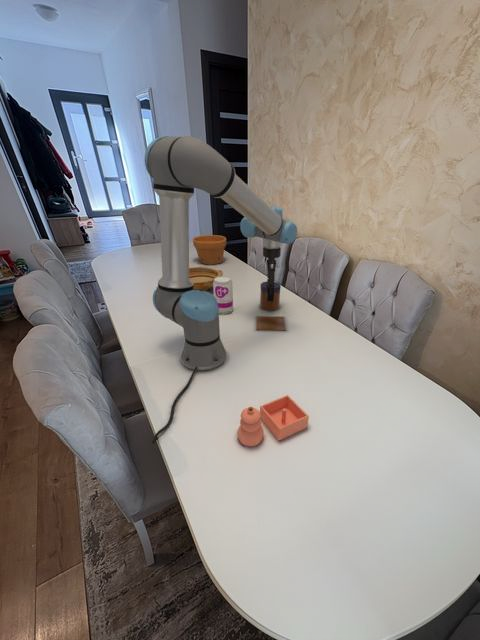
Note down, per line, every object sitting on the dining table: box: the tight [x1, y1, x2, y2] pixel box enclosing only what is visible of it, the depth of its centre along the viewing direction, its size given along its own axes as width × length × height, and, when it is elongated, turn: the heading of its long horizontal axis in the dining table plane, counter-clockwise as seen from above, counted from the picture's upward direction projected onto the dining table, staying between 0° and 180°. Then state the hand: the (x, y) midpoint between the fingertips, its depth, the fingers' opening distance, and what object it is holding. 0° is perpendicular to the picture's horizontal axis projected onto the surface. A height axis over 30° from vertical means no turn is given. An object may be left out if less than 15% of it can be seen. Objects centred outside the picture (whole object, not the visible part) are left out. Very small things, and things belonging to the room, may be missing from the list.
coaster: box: [256, 315, 287, 332], centre depth 130 cm, size 12×12×1 cm
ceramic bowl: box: [189, 266, 224, 292], centre depth 160 cm, size 30×24×8 cm
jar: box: [259, 289, 281, 312], centre depth 142 cm, size 9×9×10 cm
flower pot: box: [192, 234, 227, 265], centre depth 198 cm, size 21×21×15 cm
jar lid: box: [260, 281, 281, 292], centre depth 139 cm, size 9×9×2 cm
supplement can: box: [212, 275, 234, 315], centre depth 136 cm, size 8×8×15 cm
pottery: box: [237, 394, 310, 448], centre depth 78 cm, size 18×10×10 cm, turn 121°
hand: (270, 296), depth 142 cm, fingers closed on jar lid, 9 cm apart
